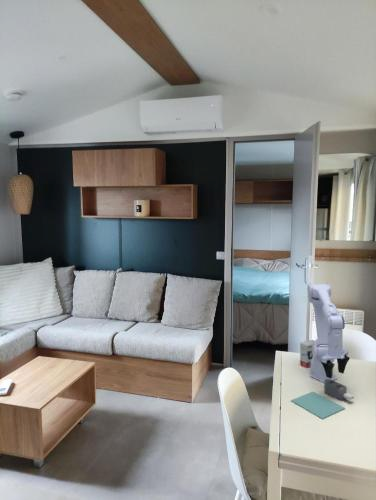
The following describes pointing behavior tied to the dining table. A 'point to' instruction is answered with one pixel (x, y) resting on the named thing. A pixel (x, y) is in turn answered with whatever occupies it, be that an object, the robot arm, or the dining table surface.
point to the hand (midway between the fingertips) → (335, 375)
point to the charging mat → (318, 405)
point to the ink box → (306, 353)
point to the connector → (336, 390)
